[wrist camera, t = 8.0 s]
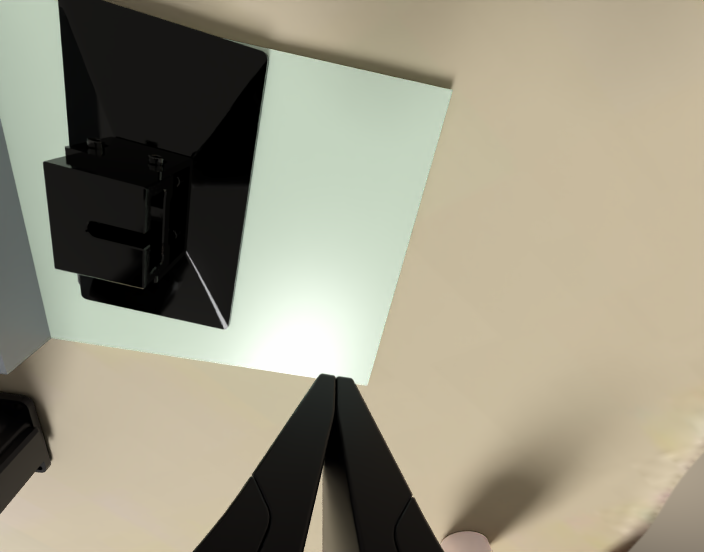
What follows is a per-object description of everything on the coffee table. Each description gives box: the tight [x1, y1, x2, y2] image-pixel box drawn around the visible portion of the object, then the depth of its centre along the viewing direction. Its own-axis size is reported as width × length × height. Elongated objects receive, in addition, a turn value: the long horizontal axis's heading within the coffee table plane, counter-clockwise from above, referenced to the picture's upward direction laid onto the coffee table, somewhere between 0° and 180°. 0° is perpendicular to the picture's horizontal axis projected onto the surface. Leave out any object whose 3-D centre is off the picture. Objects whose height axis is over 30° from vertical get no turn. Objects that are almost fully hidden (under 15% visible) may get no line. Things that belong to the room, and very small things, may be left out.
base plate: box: [0, 0, 453, 386], centre depth 15 cm, size 18×15×3 cm
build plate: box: [43, 0, 269, 330], centre depth 13 cm, size 12×7×5 cm, turn 164°
